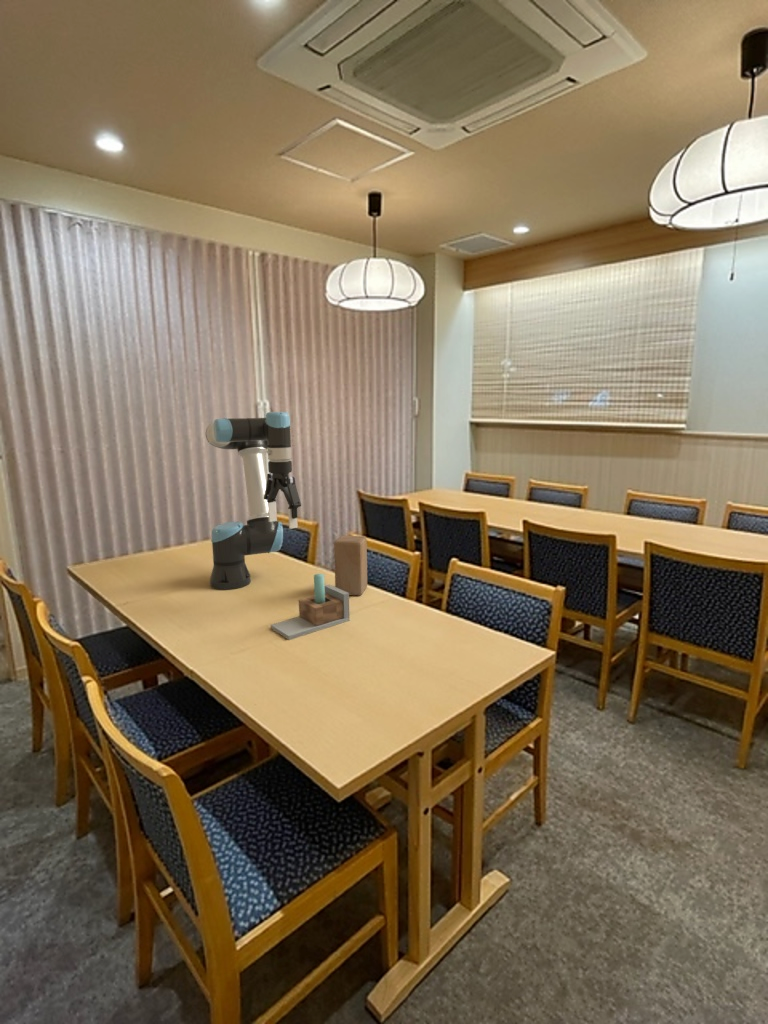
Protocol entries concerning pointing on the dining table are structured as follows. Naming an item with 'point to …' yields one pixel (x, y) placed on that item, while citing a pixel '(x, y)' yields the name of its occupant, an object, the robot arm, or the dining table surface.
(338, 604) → the walnut block
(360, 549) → the block
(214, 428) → the robot arm
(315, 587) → the teal dowel
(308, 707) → the dining table surface
